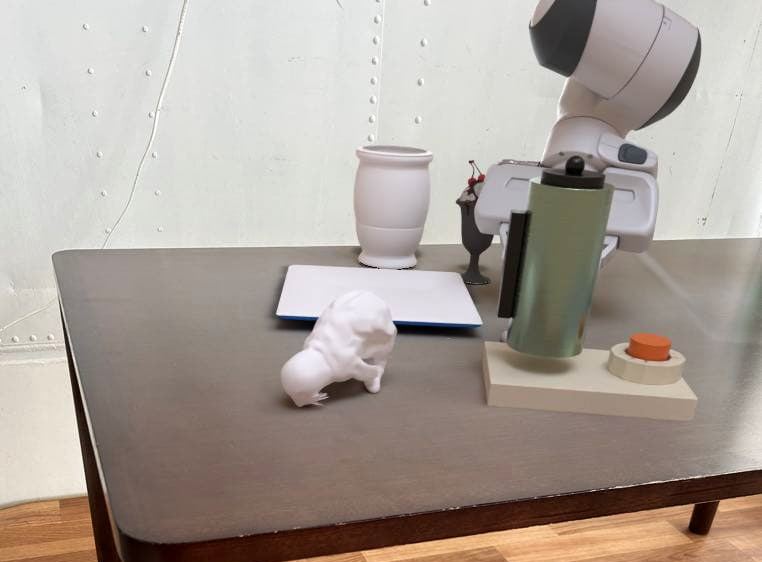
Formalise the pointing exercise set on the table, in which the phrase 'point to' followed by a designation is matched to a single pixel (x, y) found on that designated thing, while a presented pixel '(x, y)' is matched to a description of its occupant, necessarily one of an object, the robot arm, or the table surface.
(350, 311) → the white hunched creature figure
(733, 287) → the table surface
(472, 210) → the sundae
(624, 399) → the kettle base
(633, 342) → the kettle switch
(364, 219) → the jar
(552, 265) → the kettle
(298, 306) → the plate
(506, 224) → the robot arm
